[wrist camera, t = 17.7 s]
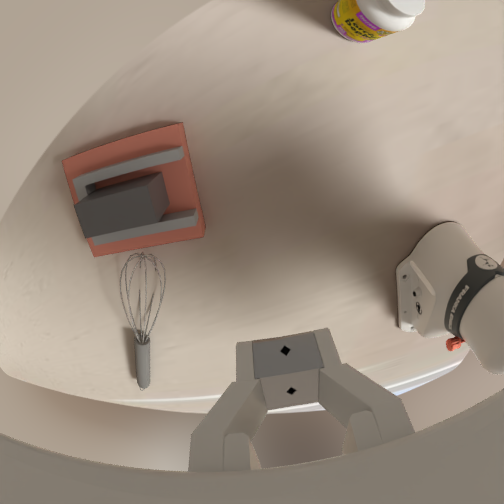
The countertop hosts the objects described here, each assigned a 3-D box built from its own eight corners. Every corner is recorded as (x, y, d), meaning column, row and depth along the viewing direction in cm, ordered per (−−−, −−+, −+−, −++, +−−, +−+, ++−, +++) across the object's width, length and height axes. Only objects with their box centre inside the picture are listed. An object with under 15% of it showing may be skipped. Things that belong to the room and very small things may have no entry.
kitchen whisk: (131, 381, 54) (125, 405, 48) (130, 238, 39) (115, 260, 34) (159, 387, 55) (154, 411, 49) (171, 246, 40) (162, 270, 35)
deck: (205, 227, 39) (201, 246, 34) (102, 247, 39) (86, 266, 34) (182, 122, 32) (173, 125, 27) (72, 156, 33) (51, 165, 28)
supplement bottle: (323, 31, 27) (364, 0, 16) (335, -8, 24) (377, -46, 13) (371, 52, 28) (428, 37, 17) (382, 14, 25) (437, -11, 14)
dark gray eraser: (169, 203, 34) (157, 222, 28) (105, 218, 34) (85, 238, 29) (161, 171, 32) (147, 185, 26) (96, 188, 32) (73, 205, 27)
